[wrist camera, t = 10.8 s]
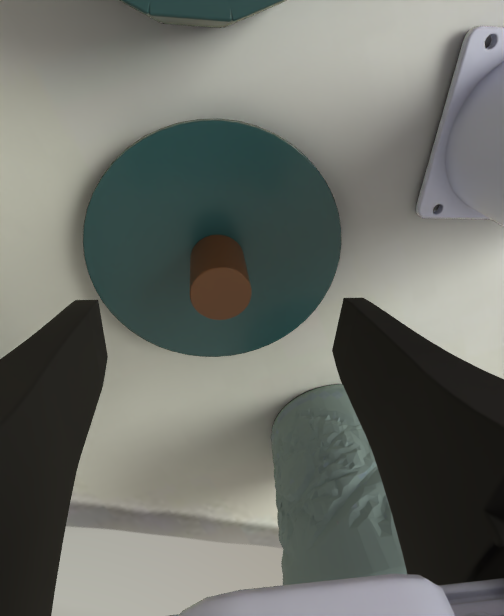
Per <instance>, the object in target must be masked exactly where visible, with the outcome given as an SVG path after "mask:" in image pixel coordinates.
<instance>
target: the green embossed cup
mask: <svg viewBox="0 0 504 616" xmlns="http://www.w3.org/2000/svg"><path fill="white" fill-rule="evenodd" d="M271 440H272V453H273V463H274V468H275V469H274V478H275V488H276V505H277V509H278V526H279V540H280V543H281V545H282V547H283V557H282V572H283V585H292V584H301V583H311V582H320V581H329V580H339V579H348V578H358V577H367V576H377V575H386V574H407V571H406V567H405V562H404V558H403V554H402V550H401V546H400V543H399V539H398V535H397V531H396V528H395V524H394V520H393V517H392V513H391V510H390V506H389V503H388V500H387V496H386V493H385V490H384V486H383V483H382V480H381V477H380V474H379V471H378V468H377V464H376V461H375V458H374V455H373V452H372V450H371V447H370V445H369V442H368V440H367V437H366V435H365V433H364V431H363V429H362V426H361V424H360V422H359V420H358V418H357V415H356V413H355V411H354V409H353V407H352V404H351V402H350V400H349V398H348V395H347V393H346V391H345V389H344V386H343V384H337V385H329V386H324V387H320V388H317V389H313V390H311V391H309V392H306V393H304V394H302V395H300V396H298V397H297V398H295V399H294V400H293V401H291V402H290V403H289V404H287V405H286V406H285V407H284V408H283V409H282V411H281V412H280V413H279V414H278V416H277V418H276V419H275V422H274V424H273V427H272V434H271Z"/></svg>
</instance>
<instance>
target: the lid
mask: <svg viewBox="0 0 504 616" xmlns="http://www.w3.org/2000/svg"><path fill="white" fill-rule="evenodd" d="M83 247H84V256H85V261H86V265H87V269H88V273H89V275H90V278H91V280H92V283H93V285H94V287H95V289H96V291H97V293H98V294H99V296H100V298H101V300H102V301H103V303H104V304H105V305H106V306H107V308H108V309H109V310H110V312H111V313H112V314H113V315H114V316H115V317H116V318H117V319H118V320H119V321H120V322H121V323H122V324H123V325H125V326H126V327H127V328H128V329H130V330H131V331H132V332H134V333H135V334H137V335H138V336H140V337H142V338H143V339H145V340H146V341H148V342H151V343H153V344H155V345H157V346H159V347H162V348H165V349H168V350H171V351H174V352H178V353H182V354H187V355H194V356H205V357H219V356H231V355H236V354H241V353H246V352H249V351H253V350H256V349H259V348H262V347H264V346H266V345H269V344H271V343H273V342H275V341H277V340H279V339H281V338H282V337H284V336H286V335H287V334H288V333H290V332H291V331H293V330H294V329H296V328H297V327H298V326H299V325H300V324H301V323H303V322H304V321H305V320H306V319H307V318H308V317H309V316H310V315H311V314H312V312H313V311H314V310H315V309H316V308H317V306H318V305H319V304H320V302H321V301H322V300H323V298H324V296H325V295H326V293H327V291H328V289H329V287H330V285H331V283H332V281H333V278H334V276H335V273H336V270H337V266H338V262H339V258H340V249H341V226H340V219H339V213H338V210H337V207H336V204H335V200H334V197H333V195H332V193H331V191H330V189H329V187H328V185H327V183H326V181H325V180H324V178H323V177H322V175H321V174H320V173H319V171H318V170H317V168H316V167H315V166H314V165H313V164H312V163H311V162H310V161H309V160H308V158H307V157H306V156H305V155H304V154H303V153H301V152H300V151H299V150H298V149H297V148H295V147H294V146H293V145H292V144H291V143H289V142H288V141H286V140H284V139H283V138H281V137H279V136H278V135H276V134H274V133H272V132H270V131H267V130H265V129H263V128H260V127H258V126H255V125H251V124H248V123H244V122H240V121H234V120H225V119H197V120H191V121H185V122H180V123H176V124H173V125H170V126H167V127H164V128H161V129H159V130H157V131H155V132H153V133H151V134H149V135H147V136H145V137H143V138H141V139H140V140H139V141H137V142H136V143H134V144H133V145H131V146H130V147H129V148H127V149H126V150H125V151H124V152H123V153H122V154H121V155H120V156H119V157H118V158H117V159H116V160H115V161H114V162H113V163H112V164H111V166H110V167H109V168H108V170H107V171H106V172H105V174H104V175H103V176H102V178H101V179H100V181H99V183H98V185H97V187H96V188H95V190H94V192H93V194H92V197H91V200H90V203H89V205H88V208H87V212H86V217H85V222H84V231H83Z"/></svg>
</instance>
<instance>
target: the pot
mask: <svg viewBox="0 0 504 616" xmlns="http://www.w3.org/2000/svg"><path fill="white" fill-rule="evenodd" d="M120 1H121V2H123V3H125V4H127V5H129V6H130V7H132V8H134V9H136V10H138V11H140V12H141V13H143V14H145V15H147V16H149V17H150V18H152V19H154V20H156V21H158V22H161V23H163V24H175V25H188V26H202V27H216V28H221V27H226V26H229V25H231V24H233V23H236V22H238V21H240V20H243V19H245V18H247V17H250V16H252V15H254V14H257V13H259V12H261V11H264V10H266V9H268V8H271V7H273V6H275V5H278V4H280V3H282V2H284V1H286V0H120Z"/></svg>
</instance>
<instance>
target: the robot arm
mask: <svg viewBox="0 0 504 616" xmlns="http://www.w3.org/2000/svg"><path fill="white" fill-rule="evenodd" d="M489 35H490V36H491V43H490V45H489V46H488V47H487V48H485V40H486V38H487V37H488V36H489ZM437 204H439V208H438V209H437V210H436V211H433V208H434V207H435V206H436V205H437ZM416 212H417V214H418V215H419V216H421V217H422V218H437V219H491V220H493V221H495V222H496V223H498V224H500V225H501V226H503V227H504V27H493V26H476V27H473V28H472V29H470V30H469V31H468V33H467V34H466V35H465V38H464V40H463V43H462V47H461V50H460V54H459V57H458V61H457V64H456V68H455V71H454V75H453V79H452V82H451V86H450V89H449V93H448V96H447V100H446V103H445V107H444V110H443V114H442V117H441V121H440V124H439V128H438V131H437V135H436V138H435V142H434V145H433V149H432V152H431V156H430V159H429V163H428V166H427V170H426V173H425V177H424V180H423V184H422V187H421V191H420V194H419V198H418V201H417V205H416ZM332 352H333V355H334V359H335V363H336V367H337V370H338V373H339V376H340V379H341V382H342V384H343V386H344V389H345V391H346V393H347V395H348V398H349V400H350V402H351V404H352V407H353V409H354V411H355V413H356V415H357V418H358V420H359V422H360V424H361V426H362V429H363V431H364V433H365V435H366V437H367V440H368V442H369V445H370V447H371V450H372V452H373V455H374V458H375V461H376V464H377V468H378V471H379V474H380V477H381V480H382V483H383V486H384V490H385V493H386V496H387V500H388V503H389V506H390V510H391V513H392V517H393V520H394V524H395V528H396V531H397V535H398V539H399V543H400V546H401V550H402V554H403V558H404V562H405V567H406V571H407V574H386V575H377V576H367V577H358V578H348V579H339V580H329V581H320V582H311V583H301V584H292V585H282V586H273V587H263V588H254V589H244V590H238V591H233V592H229V593H224V594H220V595H216V596H211V597H207V598H205V599H203V600H201V601H199V602H197V603H196V604H194V605H192V606H190V607H189V608H187V609H185V610H183V611H182V612H181V613H180V614H179V615H170V616H504V379H502V378H499V377H497V376H495V375H492V374H490V373H488V372H486V371H484V370H482V369H479V368H477V367H476V366H474V365H472V364H470V363H468V362H466V361H464V360H462V359H460V358H458V357H456V356H454V355H452V354H451V353H449V352H447V351H445V350H444V349H442V348H440V347H439V346H437V345H435V344H433V343H432V342H430V341H428V340H427V339H425V338H424V337H422V336H421V335H419V334H417V333H416V332H414V331H413V330H411V329H410V328H408V327H407V326H405V325H404V324H402V323H401V322H399V321H398V320H396V319H395V318H394V317H392V316H391V315H389V314H388V313H386V312H385V311H383V310H382V309H380V308H379V307H377V306H376V305H374V304H373V303H371V302H369V301H368V300H366V299H364V298H344V299H343V304H342V308H341V313H340V318H339V322H338V327H337V331H336V336H335V340H334V345H333V350H332ZM107 357H108V356H107V350H106V344H105V338H104V333H103V327H102V321H101V315H100V309H99V303H98V300H75V301H74V302H72V303H71V304H70V305H69V306H67V307H66V308H65V309H64V310H63V311H61V312H60V313H59V314H58V315H57V316H56V317H54V318H53V319H52V320H51V321H50V322H48V323H47V324H46V325H45V326H43V327H42V328H41V329H40V330H39V331H37V332H36V333H35V334H34V335H32V336H31V337H30V338H29V339H27V340H26V341H25V342H23V343H22V344H21V345H19V346H18V347H17V348H15V349H14V350H13V351H11V352H10V353H8V354H7V355H6V356H4V357H3V358H2V359H0V616H51V612H52V605H53V599H54V591H55V585H56V579H57V572H58V567H59V561H60V555H61V549H62V543H63V537H64V532H65V527H66V521H67V516H68V511H69V505H70V500H71V495H72V491H73V486H74V481H75V476H76V471H77V467H78V464H79V460H80V456H81V453H82V450H83V447H84V444H85V440H86V437H87V434H88V431H89V428H90V425H91V422H92V419H93V416H94V413H95V409H96V406H97V403H98V400H99V397H100V393H101V390H102V387H103V381H104V376H105V370H106V363H107Z"/></svg>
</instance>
